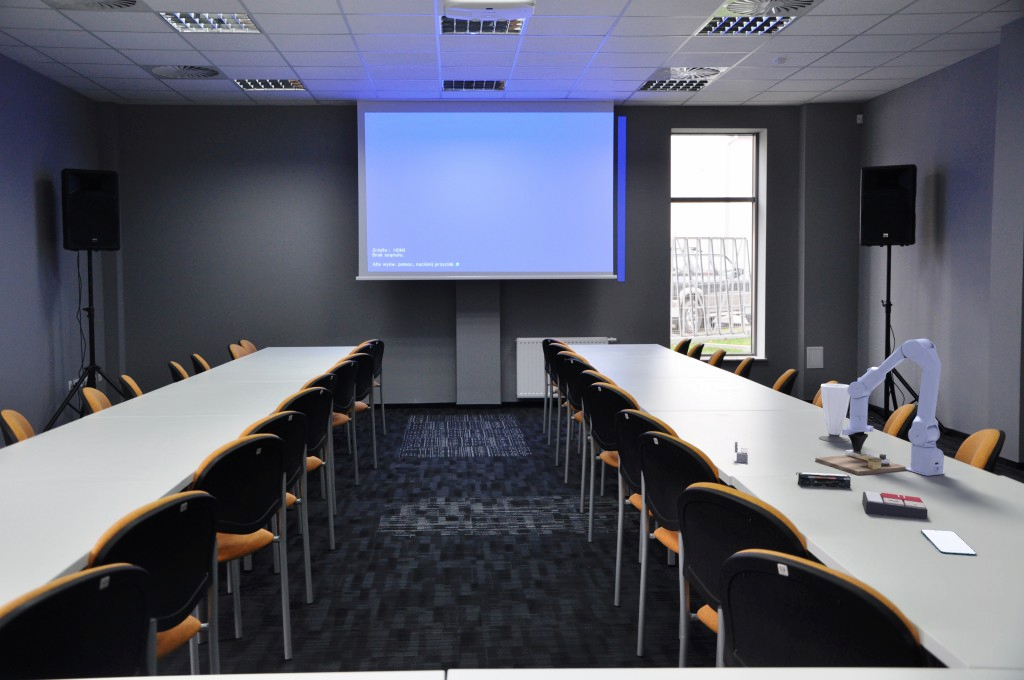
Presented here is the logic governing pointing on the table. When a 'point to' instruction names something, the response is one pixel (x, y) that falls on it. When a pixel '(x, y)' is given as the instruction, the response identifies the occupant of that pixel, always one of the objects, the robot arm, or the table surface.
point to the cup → (834, 410)
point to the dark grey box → (893, 505)
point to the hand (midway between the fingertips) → (856, 453)
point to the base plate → (857, 464)
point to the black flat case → (824, 480)
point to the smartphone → (947, 542)
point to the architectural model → (741, 454)
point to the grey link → (855, 453)
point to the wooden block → (871, 461)
